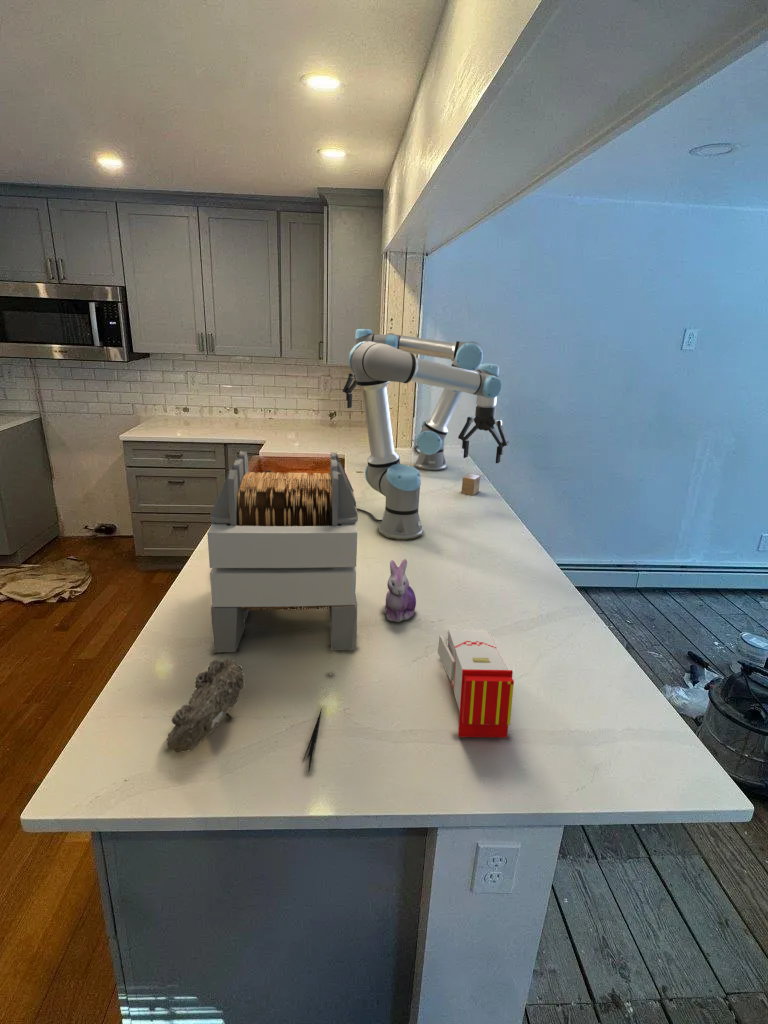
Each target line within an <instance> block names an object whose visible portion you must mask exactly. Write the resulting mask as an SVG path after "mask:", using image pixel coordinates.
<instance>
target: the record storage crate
mask: <svg viewBox="0 0 768 1024" xmlns="http://www.w3.org/2000/svg"><path fill="white" fill-rule="evenodd" d="M329 465H330V466H329V467H330V469H329V470H330V472H324V473H321V472H313V474H309V473H308V472H286V473H285V472H284V473H283V472H274V471H273V472H272V471H271V472H267V473H265V471H263V472H260V471H259V472H258V471H257V472H255V471H249V459H248V451H242V450H240V451H239V453H238V455H237V457H236V458H235V460H234V463H233V465H232V467H231V468H230V469H229V471H228V473H227V475H226V477H225V480H224V482H223V484H222V487H221V489H220V491H219V493H218V496H217V498H216V500H215V502H214V504H213V507H212V508H211V511H210V514H209V519H210V523H211V525H210V527H209V529H208V531H207V532H206V534H207V548H208V562H209V563H208V565H209V569H211V570H210V573H209V575H210V576H209V577H210V590H211V591H210V592H211V593H210V594H211V606H210V617H211V633H212V637H213V638H212V639H213V649H212V652H213V653H214V654H215V653H216V654H220V653H236V652H237V649H238V647H239V645H240V642H241V639H242V637H243V635H244V632H245V625H246V624H245V621H247V619H248V615H249V611H268V610H270V611H273V610H274V611H275V610H277V611H278V610H279V611H280V610H284V611H286V610H290V611H291V610H294V611H295V610H325V609H326V610H329V619H330V621H329V622H330V623H329V625H330V626H329V627H330V628H329V629H330V650H331V651H351V652H353V651H354V650H355V649H357V638H358V635H357V631H358V602H357V601H358V600H357V593H356V590H357V589H356V588H357V569H356V568H357V555H358V553H357V551H358V529H357V522H358V519H359V513H358V510H357V508H358V507H357V502H356V497H355V493H354V488H353V486H352V484H351V481H350V479H349V478H348V475H347V473H346V471H345V469H344V466H343V464H342V461H341V460H340V458H339V456H338V453H337V452H333V451H330V463H329Z"/></svg>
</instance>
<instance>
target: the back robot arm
mask: <svg viewBox="0 0 768 1024" xmlns="http://www.w3.org/2000/svg"><path fill="white" fill-rule="evenodd" d="M354 336H355V337H354V346H355V345H356V344H358V343H360V342H364V341H373V342H376V343H382V344H387V345H389V346H392V347H394V348H397V349H399V350H402V351H405V352H408V353H412V354H414V355H420V356H425V357H426V356H427V357H432V358H437V359H438V358H439V359H446V360H451V365H450V366H453V367H457V368H462V369H466V370H478V368H479V365H480V364H483V360H484V355H485V353H484V352H485V351H484V348H483V347H482V345H481V344H479V343H478V342H477V341H459V340H456V341H454V342H450V341H443V340H436V339H430V338H421V337H416V336H410V335H409V336H408V335H400V334H395V333H393V332H390V333H386V334H380V333H379V334H377V333H373V330H372V329H369V328H358V329H356V330H355V335H354ZM356 387H357V385H356V378H355V373H354V372H349V373H348V378H347V379H346V382H345V384H344V386H343V389H342V393H344V394H345V400H346V401H347V403H346V408H347V409H351V408H352V407H353V394H352V392H353V391H354V389H355V388H356ZM463 394H464V392H454V391H452V390H451V389H446V388H443V390H442V393H441V394H440V397H439V399H438V401H437V403H436V405H435V408H434V410H433V412H432V414H431V416H430V418H429V419H427V420H424V421H422V424H421V429H420V432H419V434H418V435H417V437H416V438H417V439H416V445H415V447H414V450H415V453H417V454H418V456H417V459H416V461H415V468H418V469H420V470H424V471H433V472H434V471H435V472H436V471H443V470H445V469H447V461H446V457H445V452H444V451H445V439H446V438H447V434H448V432H449V429H448V425H449V423H450V421H451V419H452V416H454V415H453V414H454V412H455V410H456V409H457V406H458V404H459V402H460V400H461V398H462V396H463ZM418 450H419V451H418Z"/></svg>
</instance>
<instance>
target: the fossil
mask: <svg viewBox="0 0 768 1024" xmlns="http://www.w3.org/2000/svg"><path fill="white" fill-rule="evenodd" d="M243 670H244V669H243V667H242V665H240V664H237V662H236V661H235V660H234V659H232V658H231V659H227V658H226V659H224V660H223V661H222V660H217V659H212V660H211V661H210V663H209V665H208V666H207V671H201V672H199V673H198V674H197V675H196V676H195V680H194V684H195V685H194V687H195V689H194V690H193V693H192V694H191V697H190V698H189V700H188V704H184V705H182V706H181V707H180V709H177V710H176V711H175V713H174V715H173V716H172V718H171V723H172V724H173V727H172V730H171V731H170V732H168V734H167V738H166V741H167V742H166V745H167V749H168V750H169V751H173V752H174V753H176V754H178V753H182V752H188V751H189V752H192V751H193V750H195V748H196V747H197V746H199V744H200V743H201V742H203V741H204V740H205V739H206V738H207V737H208V736H209V735H210V734H211V733H212V732H214V730H215V729H217V727H218V726H219V724H220V722H221V721H222V720H223V719H224V718H225V716H226V717H227V719H229V720H233V717H232V715H230V714H229V710H230V709H231V708H234V706H235V704H236V703H237V702H238V699H239V697H240V695H241V693H242V691H243V690H245V689H244V688H245V675H244V671H243Z"/></svg>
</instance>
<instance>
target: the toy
mask: <svg viewBox="0 0 768 1024" xmlns="http://www.w3.org/2000/svg"><path fill="white" fill-rule="evenodd" d="M446 640H447V643H446V641H445V639H444V636H443V635H442V634H439V637H438V646H437V656H438V657H439V659H440V661H441V663H442V666H443V668H444V670H445V672H446V674H447V677H448V679H449V681H450V684H451V687H452V690H453V693H454V697H455V701H456V705H457V708H458V711H459V714H458V715H459V716H458V730H457V731H458V732H457V737H458V738H508V731H509V726H510V725H511V717H512V707H513V697H514V696H513V695H514V684H515V680H514V679H513V673H514V671H513V670H512V669H508V667H507V665H506V662H505V661H504V659H503V658H502V655H501V653H500V651H499V649H498V647H497V643H496V639H495V637H494V635H493V634H491V632H490V631H489V629H467V628H466V629H465V628H463V629H461V628H460V629H459V628H448V630H447V639H446Z"/></svg>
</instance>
